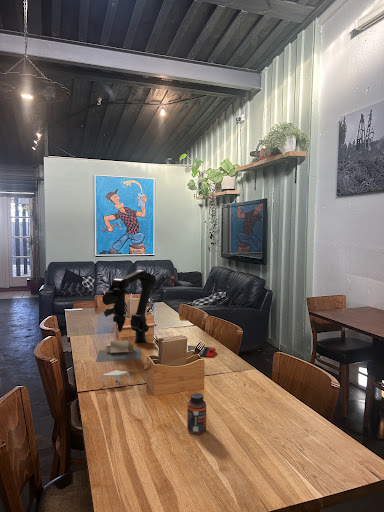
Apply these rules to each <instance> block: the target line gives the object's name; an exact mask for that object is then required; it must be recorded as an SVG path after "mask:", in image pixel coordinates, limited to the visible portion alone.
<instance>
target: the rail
mask: <svg viewBox="0 0 384 512" xmlns="http://www.w3.org/2000/svg"><path fill="white" fill-rule="evenodd" d="M133 349H134V343H133V342H131V343H129V352H132V351H133ZM105 350H106V353H111V343H107V344H105Z"/></svg>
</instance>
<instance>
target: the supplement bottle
mask: <svg viewBox="0 0 384 512" xmlns="http://www.w3.org/2000/svg"><path fill="white" fill-rule="evenodd" d="M186 413H187V414H186V415H187V419H186V421H187V422H186V424H187V425H186V427H187V431H188V433H190V434H193V435H202V434H203V433H205V432H206V430H207V402H206V401H205V400H204V395H203V393H200V392H194V393H191V394H190V400H189V401H188V402H187V412H186Z"/></svg>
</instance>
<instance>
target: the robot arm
mask: <svg viewBox="0 0 384 512" xmlns="http://www.w3.org/2000/svg"><path fill="white" fill-rule="evenodd" d="M136 281H140V286H141V292H140V296H139V301H138V304H137V305H138V306H137V309H136V312H135V314H132V315H131V318H130V321H129V322H130V327H131V331H132V332H133V331H134V333H135V334H134V337H135V339H134V343H135V344H138V343H147V338H146V333H147V332H148V331H149V330H150V326H149V325H148V324H147V318H146V311H147V306H148V303H149V297H150V294H151V291H152V290H153V289H154V287H155V285H156V282H157V278H156V277H155V275H154V274H152V273H149V272H147V270H144V269H138V270H136V271H134V272H132V273H130V274H128V275H126V276H122V277H116V278H114V279H113V280H112V282H111V284H110V286H109V288H108V290H107V291H105V292H104V294H103V296H102V298H101V301H102V304H103V305H105V306H109V305H112V306H111V307H107V308H105V309H103V315H104V316H105V318H107V317H109V316H110V315H113V316H112V320H113V322H115V323H116V326H117V330H118V333H122V330H123V327H124V326H125V322H126V315H127V310H126V294H128V290H126V289H127V288H129V286H130V285H131V284H132V283H134V282H136Z"/></svg>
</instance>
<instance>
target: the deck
mask: <svg viewBox="0 0 384 512" xmlns="http://www.w3.org/2000/svg"><path fill="white" fill-rule="evenodd" d="M110 344H111V354H121V353H129V340H110Z"/></svg>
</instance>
